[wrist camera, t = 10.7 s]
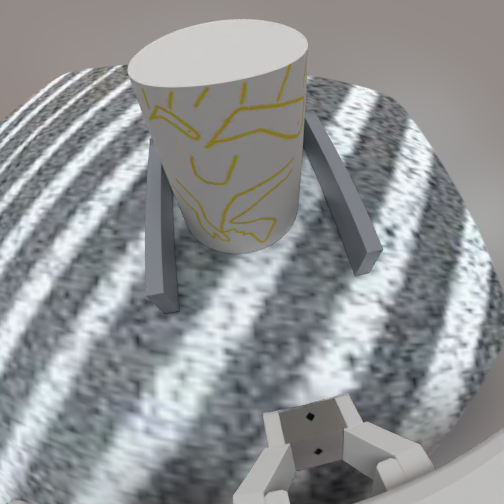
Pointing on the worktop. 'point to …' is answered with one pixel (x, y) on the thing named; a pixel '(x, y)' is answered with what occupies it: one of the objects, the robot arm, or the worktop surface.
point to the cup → (228, 126)
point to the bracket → (334, 188)
